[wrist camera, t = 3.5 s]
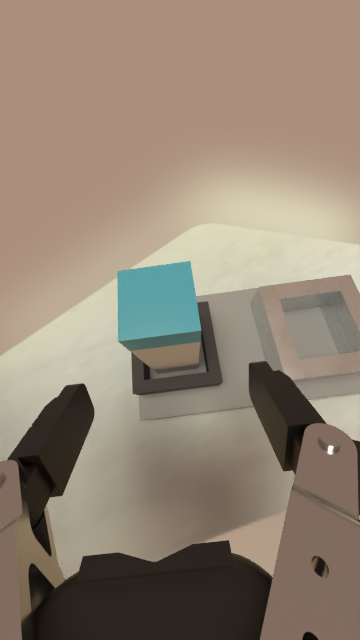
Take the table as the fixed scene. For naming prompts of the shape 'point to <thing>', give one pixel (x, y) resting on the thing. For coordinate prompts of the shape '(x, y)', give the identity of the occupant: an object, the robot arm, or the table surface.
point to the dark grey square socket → (183, 382)
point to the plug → (160, 316)
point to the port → (340, 315)
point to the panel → (247, 359)
